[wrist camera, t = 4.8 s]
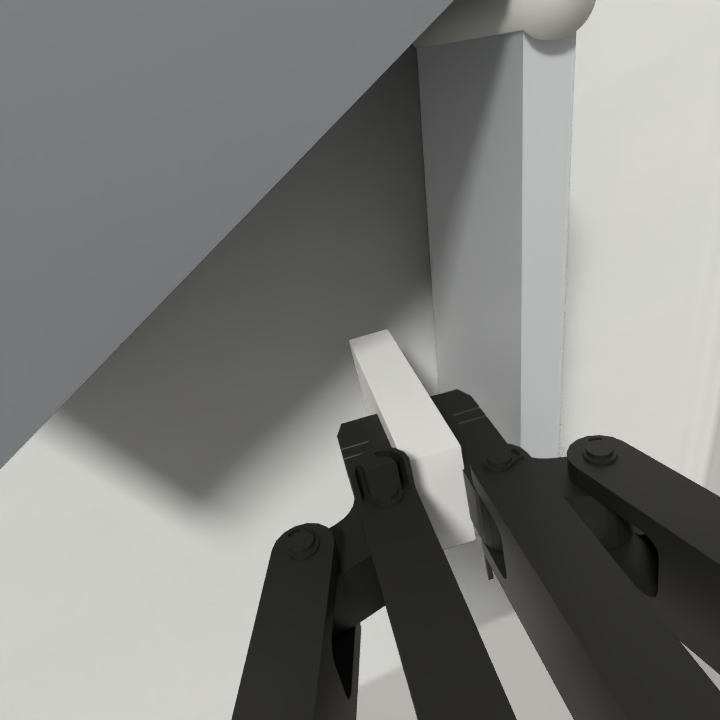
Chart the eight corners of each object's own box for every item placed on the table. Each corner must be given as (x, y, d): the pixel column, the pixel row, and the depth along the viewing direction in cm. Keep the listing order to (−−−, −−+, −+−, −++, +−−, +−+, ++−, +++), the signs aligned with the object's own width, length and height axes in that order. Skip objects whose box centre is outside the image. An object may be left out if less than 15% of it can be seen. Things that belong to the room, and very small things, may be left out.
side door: (480, 419, 23) (581, 558, 16) (435, 428, 22) (517, 573, 16) (468, -7, 16) (622, -65, 10) (405, 0, 16) (520, -53, 10)
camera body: (47, 371, 19) (-86, 576, 11) (-319, 123, 15) (-956, 173, 7) (463, -67, 16) (679, -207, 8) (157, -538, 12) (-5, -1780, 4)
